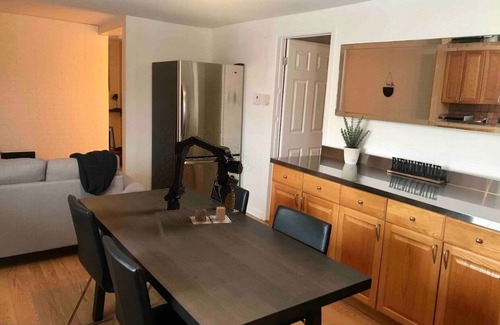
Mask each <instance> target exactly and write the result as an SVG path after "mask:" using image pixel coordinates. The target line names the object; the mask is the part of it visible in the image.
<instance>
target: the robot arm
mask: <svg viewBox="0 0 500 325" xmlns="http://www.w3.org/2000/svg"><path fill="white" fill-rule="evenodd" d="M194 146H197V147H199V148H201V149H202V150H205V151H208V152H210V153H212V155H213V156H214V157H215V159H214V160H213V163H217V164H216V165H217V166H216V172H215V176H216V178H213V179H212V186H213V188H214V189H213V190H214V191H215V193H216V197H217V199H220V201H221V203H222V205H224V203H225V200H226V197H227V195H228V194H229V193H231V192H232V189H233V187H232V186H231V185H233V186H235V187H237V186H238V184H239V182H240V180H239V179H237V178H236V176H235V175H242V174H243V171H244V170H243V169H244V167H243V163H242V160H235V158H234V155H233V154H232V153H231V149H230V147H228V146H223V145H219V144H215V143H212V142H210V141H208V140H206V139H203V138H201V137H199V136H198V135H193V136H192V135H191V136H190V137H188V138H185V139H184V140H183V139H182V140H179V141H176V142H175V143H174V149H173V150H174V154H175V156H176V157H175V164H174V172H173V177H172V179H173V180H172V183H171V184H170V186H169V188H168V193H167V194H166V195H164V197H163V199H164V201H165V202H166V208H165V210H169V211H178V210H180V208H181V204H180V200H181V199H182V197H183V196H184V194H185V193H186V192H185V190H186V186H185V185H184V184H183V178H184V172H185V171H184V170H185V164H186V157H187V156H188V155H189V152H190V149H191V148H192V147H194ZM229 173H230V174H231V175H230V174H229ZM234 174H235V175H234Z"/></svg>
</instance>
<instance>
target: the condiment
mask: <svg viewBox="0 0 500 325" xmlns="http://www.w3.org/2000/svg"><path fill="white" fill-rule="evenodd" d="M235 201H236V195H235V189H233V188H232V192H231V193H229V194H228V195H227V197H226V200H225V203H224V204H223V207H224V208H225V210H230V211H231V213H237V212H239V210H237V209H235Z"/></svg>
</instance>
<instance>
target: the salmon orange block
mask: <svg viewBox="0 0 500 325" xmlns="http://www.w3.org/2000/svg"><path fill="white" fill-rule="evenodd" d="M215 209H216V210H215V216H216V219H217V220H225V215H226V209H225V208H224V206H216V207H215Z"/></svg>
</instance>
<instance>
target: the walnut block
mask: <svg viewBox="0 0 500 325" xmlns="http://www.w3.org/2000/svg"><path fill="white" fill-rule="evenodd" d="M194 210H195V211H194V216H195V220H196V222H201V221H206V217H207V215H208V214H207V213H208V212H207V210H206V209H205V208H199V209H198V208H197V209H194Z"/></svg>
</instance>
